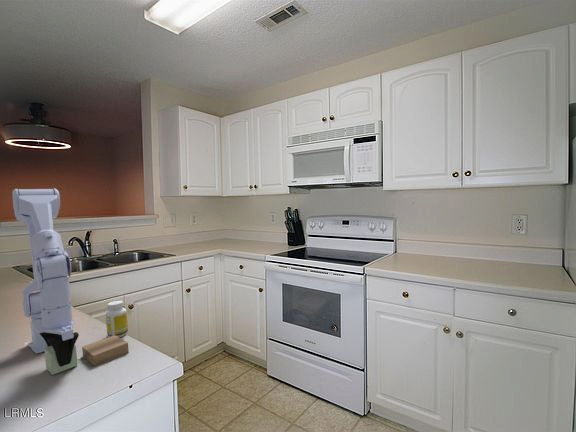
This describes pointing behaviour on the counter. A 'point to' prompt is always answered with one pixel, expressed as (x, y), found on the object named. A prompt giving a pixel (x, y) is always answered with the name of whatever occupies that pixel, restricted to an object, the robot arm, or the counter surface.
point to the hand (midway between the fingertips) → (61, 361)
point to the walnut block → (105, 350)
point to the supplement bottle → (116, 319)
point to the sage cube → (53, 364)
